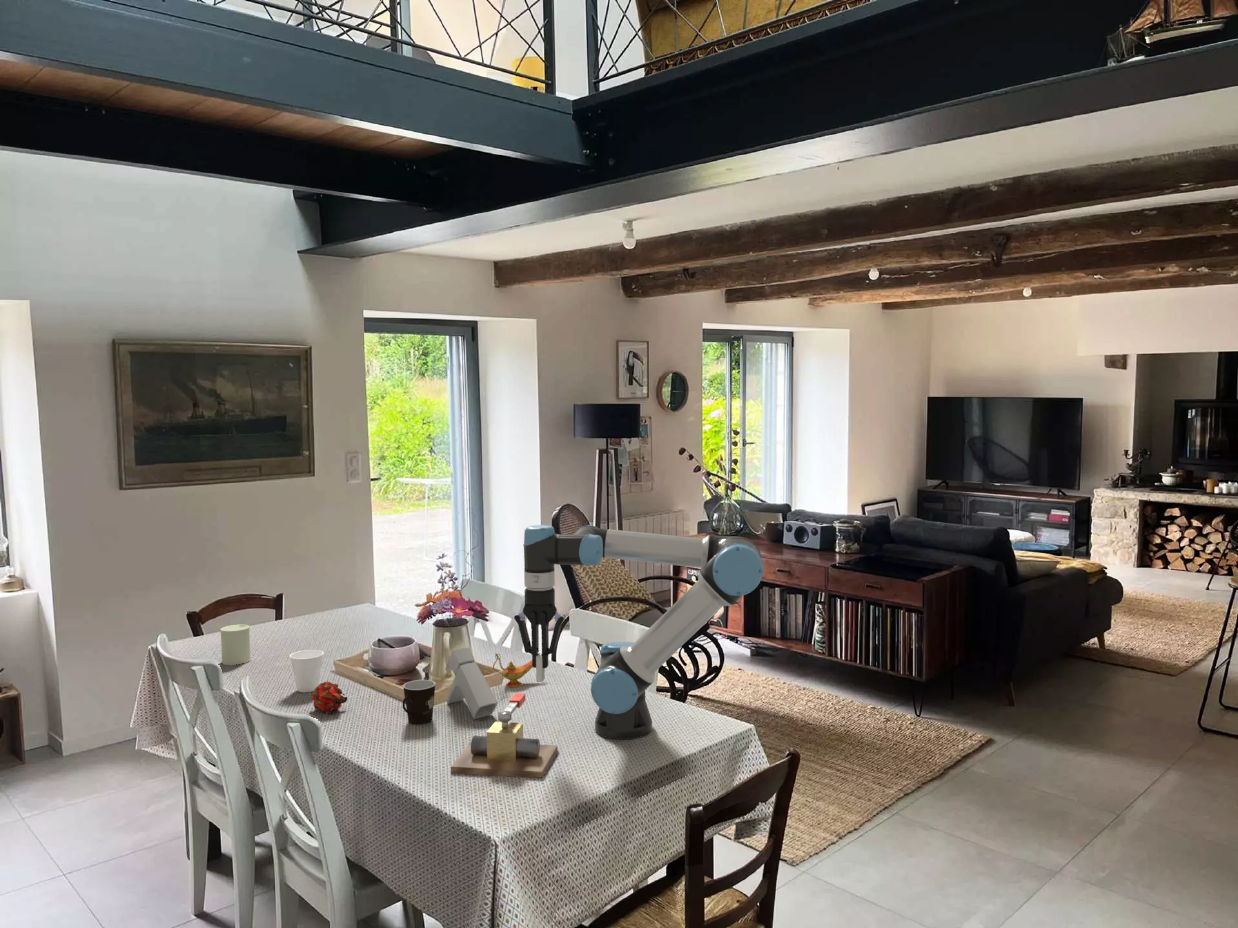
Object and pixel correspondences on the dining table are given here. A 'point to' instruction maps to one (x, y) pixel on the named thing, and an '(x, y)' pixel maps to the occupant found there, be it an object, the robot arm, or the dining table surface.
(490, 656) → the dining table surface
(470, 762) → the valve board
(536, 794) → the dining table surface
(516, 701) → the valve lever
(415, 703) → the coffee mug
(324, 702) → the dragon fruit
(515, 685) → the magic lamp
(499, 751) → the ball valve
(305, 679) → the cup
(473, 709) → the grey a-frame
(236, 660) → the can
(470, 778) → the dining table surface
